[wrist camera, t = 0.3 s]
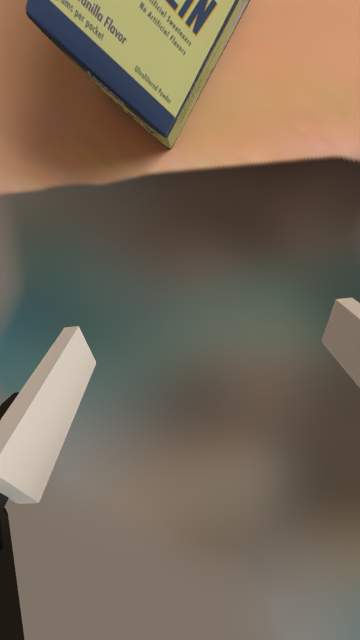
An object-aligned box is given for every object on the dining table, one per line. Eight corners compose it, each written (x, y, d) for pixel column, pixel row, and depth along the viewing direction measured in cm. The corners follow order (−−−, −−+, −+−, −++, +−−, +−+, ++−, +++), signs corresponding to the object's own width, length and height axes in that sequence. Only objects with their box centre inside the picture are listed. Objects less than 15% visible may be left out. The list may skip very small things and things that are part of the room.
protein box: (97, 90, 26) (20, 15, 13) (168, -122, 19) (149, -754, 6) (170, 153, 29) (166, 141, 17) (254, -6, 22) (360, -243, 9)
